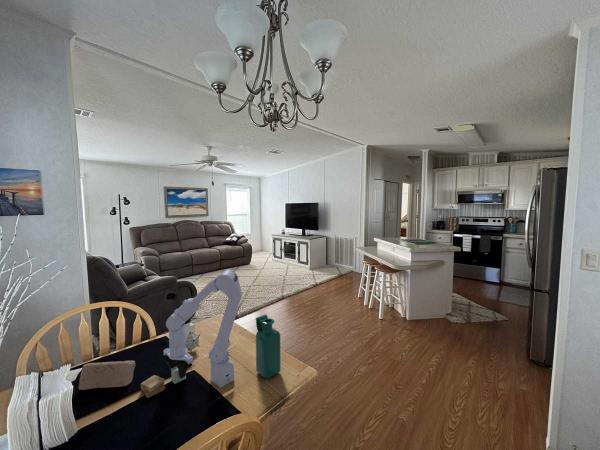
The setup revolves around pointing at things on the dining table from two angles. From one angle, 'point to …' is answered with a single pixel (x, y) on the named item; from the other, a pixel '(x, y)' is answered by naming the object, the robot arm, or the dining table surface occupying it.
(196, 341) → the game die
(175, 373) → the sage block
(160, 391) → the slab lower
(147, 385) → the slab upper
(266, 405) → the dining table surface
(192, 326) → the medicine bottle
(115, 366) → the brick
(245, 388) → the dining table surface
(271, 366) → the green bottle
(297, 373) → the dining table surface
